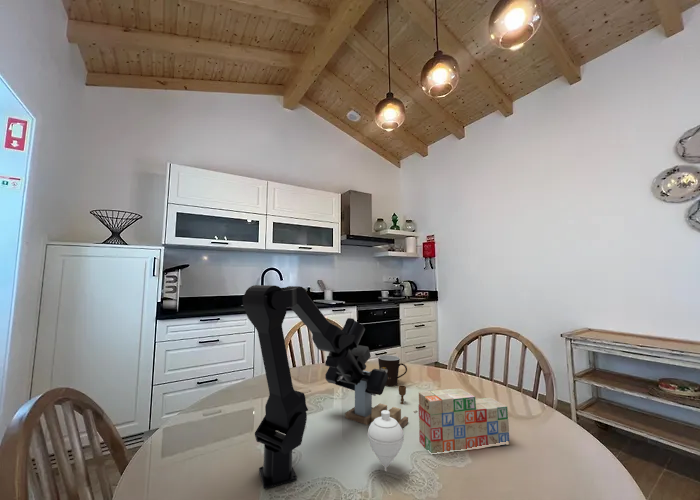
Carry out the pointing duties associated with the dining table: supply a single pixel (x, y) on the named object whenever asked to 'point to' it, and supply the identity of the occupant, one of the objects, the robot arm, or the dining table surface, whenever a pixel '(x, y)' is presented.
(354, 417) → the rack
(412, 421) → the dining table surface
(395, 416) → the oak offcut
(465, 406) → the stack of blocks
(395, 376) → the coffee mug
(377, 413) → the oak offcut
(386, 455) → the spinning top
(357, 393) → the batten
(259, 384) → the dining table surface
